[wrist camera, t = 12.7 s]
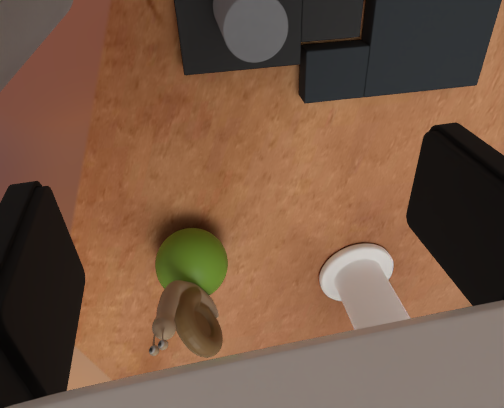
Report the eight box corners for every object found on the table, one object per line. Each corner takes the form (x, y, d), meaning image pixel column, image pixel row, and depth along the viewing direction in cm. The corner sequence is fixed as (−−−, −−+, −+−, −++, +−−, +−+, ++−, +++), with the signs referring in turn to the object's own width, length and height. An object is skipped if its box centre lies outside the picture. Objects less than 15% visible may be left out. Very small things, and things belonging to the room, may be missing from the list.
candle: (368, 229, 36) (612, 627, 17) (402, 268, 40) (633, 627, 20) (304, 273, 38) (453, 675, 18) (342, 305, 42) (500, 667, 22)
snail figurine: (184, 194, 31) (193, 325, 21) (236, 240, 35) (263, 370, 25) (132, 233, 32) (118, 373, 23) (187, 274, 36) (195, 409, 26)
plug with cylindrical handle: (183, 67, 26) (188, 110, 20) (164, -69, 21) (165, -58, 16) (348, 52, 27) (392, 89, 22) (361, -80, 23) (420, -73, 17)
